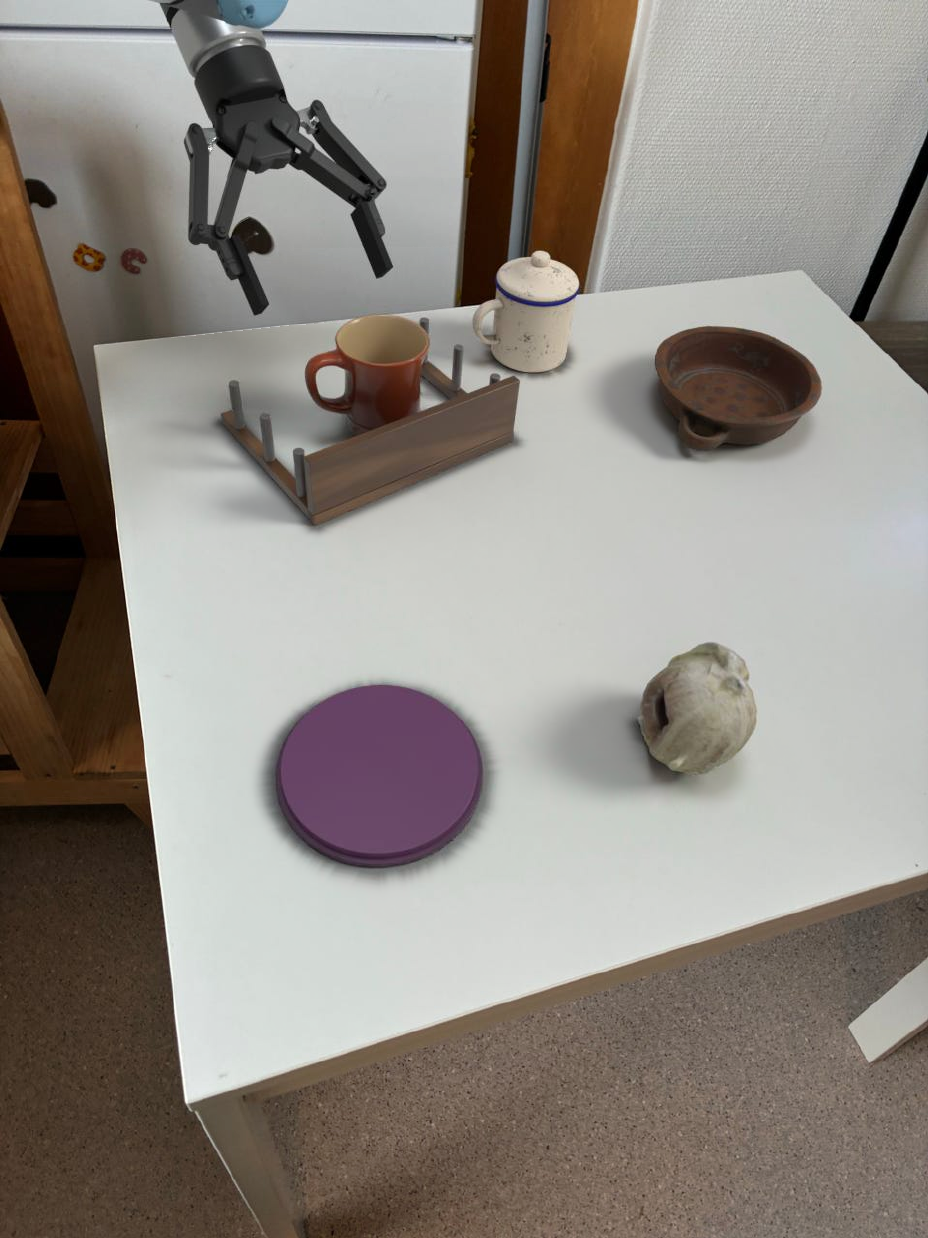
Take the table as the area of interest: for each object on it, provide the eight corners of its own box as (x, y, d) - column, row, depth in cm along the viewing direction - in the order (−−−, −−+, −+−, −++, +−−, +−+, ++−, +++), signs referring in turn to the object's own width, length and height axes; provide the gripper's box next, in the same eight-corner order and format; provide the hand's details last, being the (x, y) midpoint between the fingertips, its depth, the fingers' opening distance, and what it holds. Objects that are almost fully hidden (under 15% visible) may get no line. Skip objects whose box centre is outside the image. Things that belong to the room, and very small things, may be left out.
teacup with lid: (542, 324, 107) (556, 228, 98) (582, 365, 102) (601, 267, 93) (452, 344, 103) (458, 245, 94) (489, 387, 98) (499, 287, 89)
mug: (407, 396, 96) (409, 307, 88) (439, 444, 90) (444, 355, 83) (297, 418, 92) (289, 328, 84) (324, 470, 87) (318, 379, 79)
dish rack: (221, 422, 91) (211, 360, 85) (411, 356, 101) (413, 296, 95) (315, 525, 82) (310, 463, 76) (513, 441, 92) (521, 380, 86)
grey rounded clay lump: (668, 713, 73) (706, 607, 68) (758, 771, 68) (806, 661, 64) (597, 750, 67) (633, 636, 62) (691, 817, 62) (738, 699, 57)
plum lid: (238, 749, 65) (236, 740, 65) (406, 660, 72) (406, 651, 71) (347, 909, 58) (347, 902, 57) (523, 794, 65) (525, 785, 64)
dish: (608, 427, 94) (617, 386, 91) (690, 338, 107) (701, 299, 103) (766, 493, 89) (783, 453, 85) (833, 390, 102) (850, 351, 98)
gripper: (333, 67, 91) (415, 272, 95) (92, 109, 80) (196, 339, 84) (361, 21, 84) (448, 244, 88) (102, 61, 73) (214, 313, 77)
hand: (325, 291), depth 86 cm, fingers open, 13 cm apart
